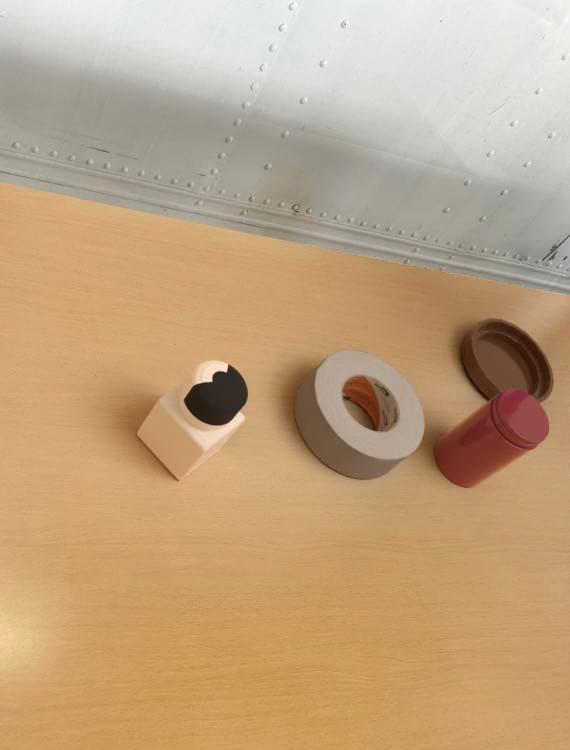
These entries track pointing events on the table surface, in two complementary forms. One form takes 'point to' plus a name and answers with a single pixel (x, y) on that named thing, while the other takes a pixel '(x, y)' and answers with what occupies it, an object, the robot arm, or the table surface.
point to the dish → (506, 360)
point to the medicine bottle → (196, 417)
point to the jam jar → (491, 438)
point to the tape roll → (341, 431)
